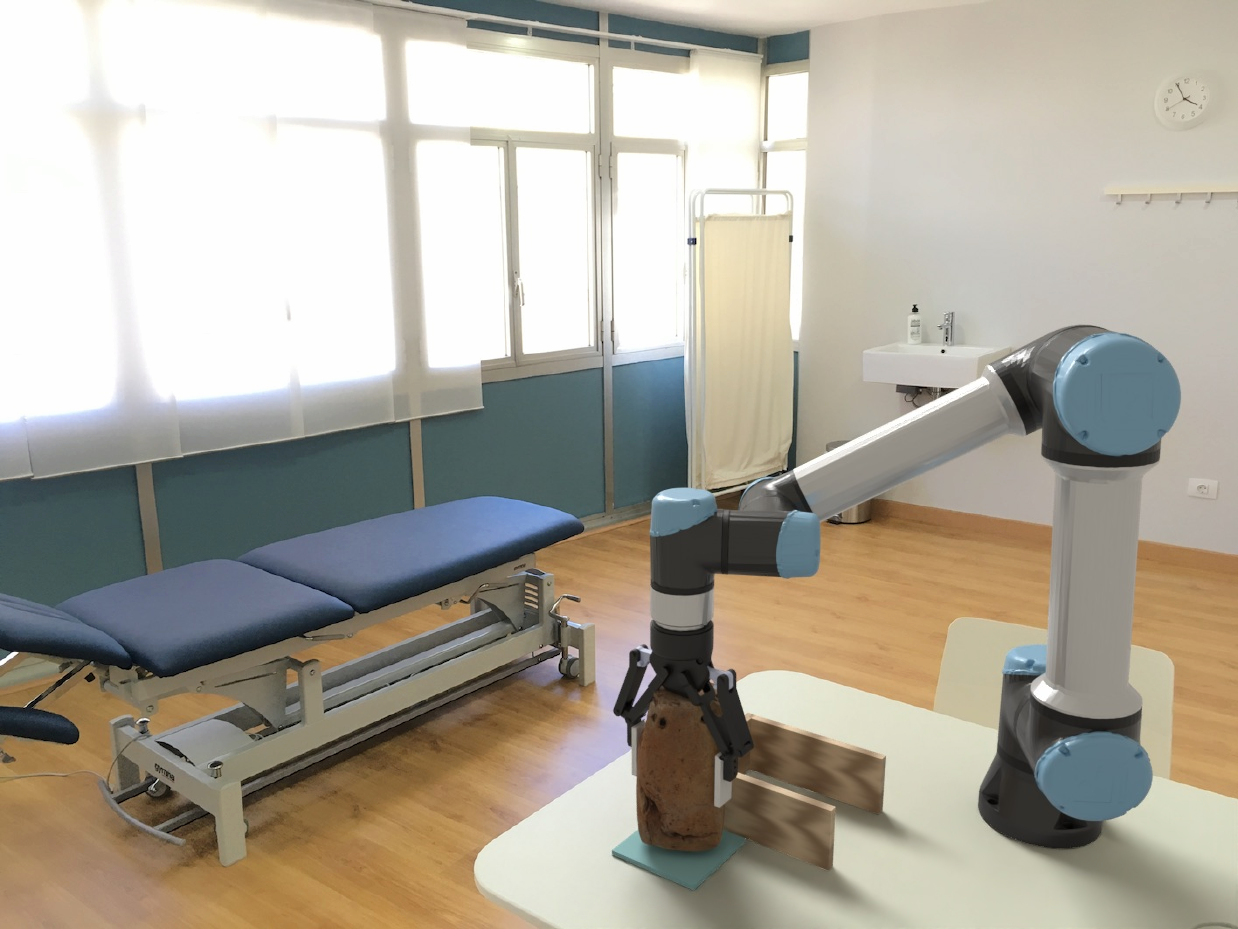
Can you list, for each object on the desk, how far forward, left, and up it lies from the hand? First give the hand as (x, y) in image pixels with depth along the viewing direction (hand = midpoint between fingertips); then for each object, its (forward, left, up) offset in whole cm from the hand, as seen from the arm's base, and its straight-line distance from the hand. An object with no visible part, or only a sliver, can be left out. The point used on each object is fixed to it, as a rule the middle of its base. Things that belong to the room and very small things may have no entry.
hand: (680, 786), depth 127 cm
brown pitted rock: (0, 0, -7) cm, 7 cm away
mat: (0, 0, -9) cm, 9 cm away
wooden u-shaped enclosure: (-7, -15, -9) cm, 19 cm away
